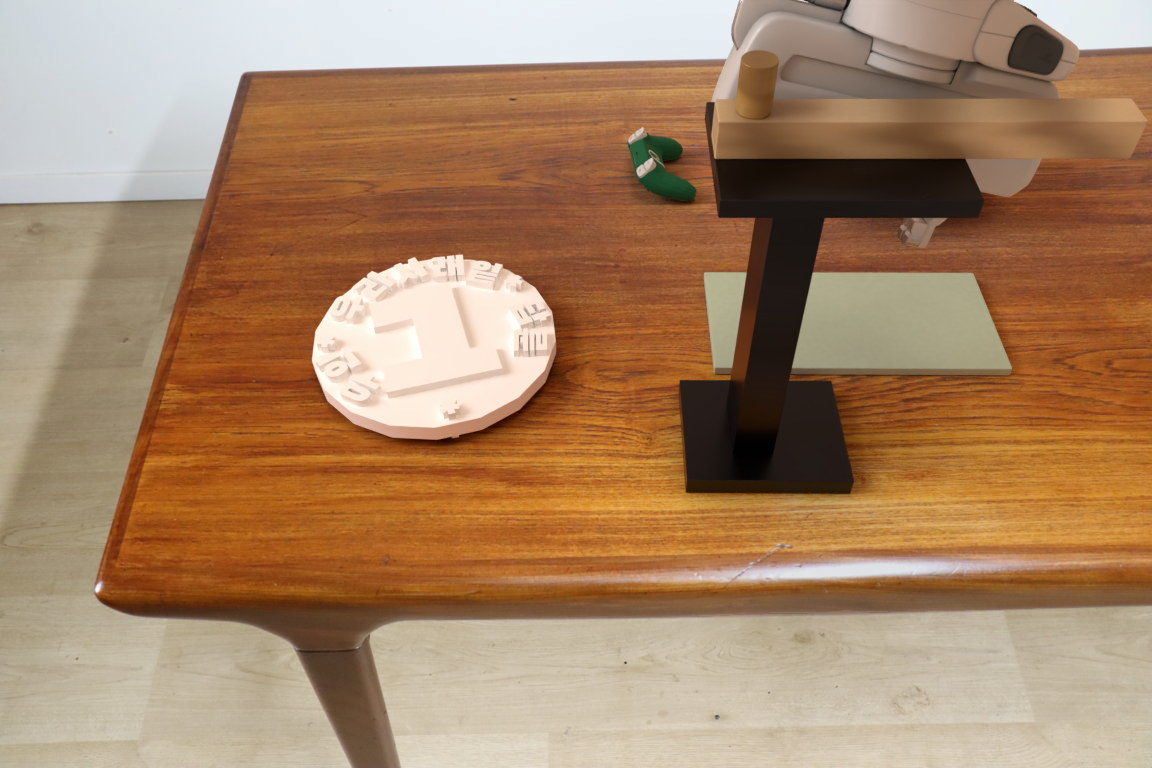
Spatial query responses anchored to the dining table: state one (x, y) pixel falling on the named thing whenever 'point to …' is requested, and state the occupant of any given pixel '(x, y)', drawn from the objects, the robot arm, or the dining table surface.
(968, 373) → the mat
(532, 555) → the dining table surface
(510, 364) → the giant coin
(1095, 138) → the long square wooden dowel
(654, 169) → the gaming controller
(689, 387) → the black pedestal stand
